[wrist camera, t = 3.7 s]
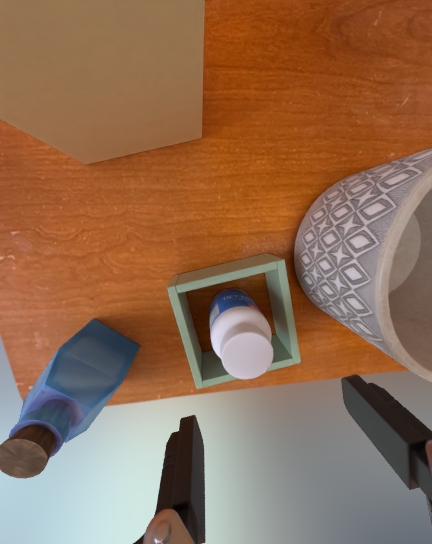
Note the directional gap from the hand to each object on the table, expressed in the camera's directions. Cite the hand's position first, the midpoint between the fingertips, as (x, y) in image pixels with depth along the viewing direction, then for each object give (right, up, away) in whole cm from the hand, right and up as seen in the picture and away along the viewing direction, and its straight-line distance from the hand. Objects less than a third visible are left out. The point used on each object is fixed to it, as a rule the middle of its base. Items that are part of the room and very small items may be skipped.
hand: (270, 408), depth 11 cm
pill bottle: (-1, +3, +14) cm, 15 cm away
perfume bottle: (-16, -2, +14) cm, 22 cm away
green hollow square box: (-1, +3, +14) cm, 15 cm away
